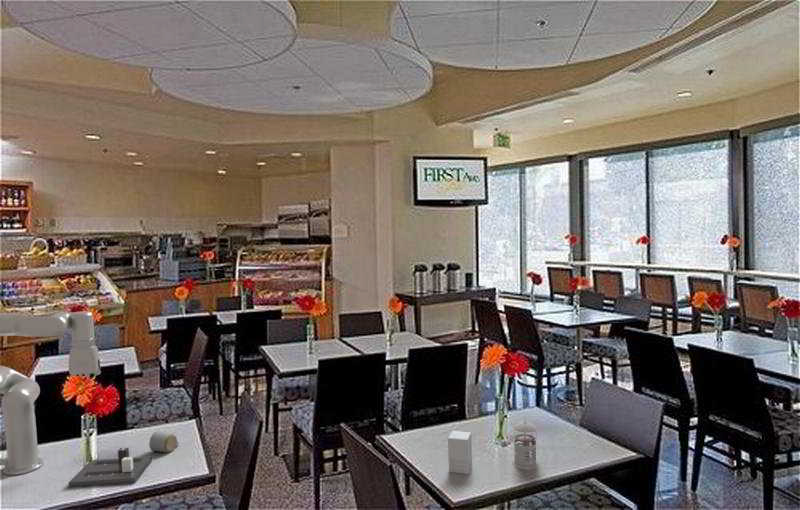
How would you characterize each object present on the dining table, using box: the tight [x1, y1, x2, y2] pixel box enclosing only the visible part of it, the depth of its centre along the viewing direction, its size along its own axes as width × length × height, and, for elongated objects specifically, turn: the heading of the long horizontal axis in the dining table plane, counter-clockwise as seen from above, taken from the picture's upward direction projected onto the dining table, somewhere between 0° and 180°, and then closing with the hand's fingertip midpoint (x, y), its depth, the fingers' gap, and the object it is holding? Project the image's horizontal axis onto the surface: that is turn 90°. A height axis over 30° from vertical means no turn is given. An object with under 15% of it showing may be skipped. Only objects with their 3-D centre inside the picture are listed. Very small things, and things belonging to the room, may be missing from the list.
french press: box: [511, 396, 540, 471], centre depth 206 cm, size 10×12×25 cm
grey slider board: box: [68, 455, 153, 489], centre depth 205 cm, size 22×18×2 cm
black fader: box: [117, 447, 130, 462], centre depth 211 cm, size 3×2×5 cm
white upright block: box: [122, 456, 133, 472], centre depth 203 cm, size 3×2×5 cm
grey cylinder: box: [148, 430, 180, 453], centre depth 226 cm, size 11×8×8 cm
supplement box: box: [447, 430, 473, 475], centre depth 202 cm, size 7×7×13 cm
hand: (86, 390), depth 218 cm, fingers closed
